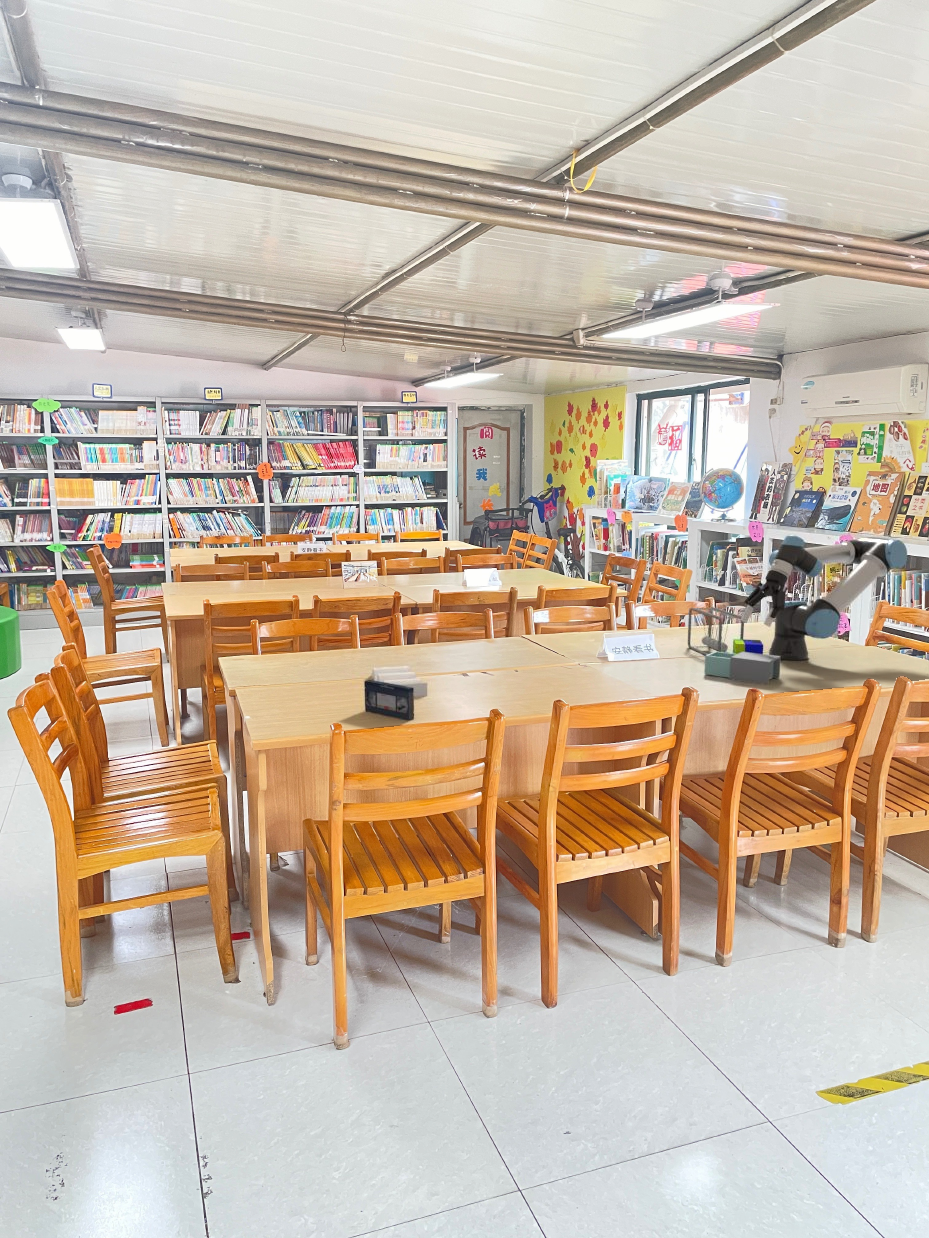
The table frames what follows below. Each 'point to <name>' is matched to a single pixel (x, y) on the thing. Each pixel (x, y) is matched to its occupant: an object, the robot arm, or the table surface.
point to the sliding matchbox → (723, 664)
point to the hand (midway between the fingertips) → (754, 623)
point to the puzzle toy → (747, 646)
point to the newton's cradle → (707, 639)
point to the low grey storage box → (754, 667)
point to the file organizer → (400, 678)
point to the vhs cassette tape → (389, 699)
